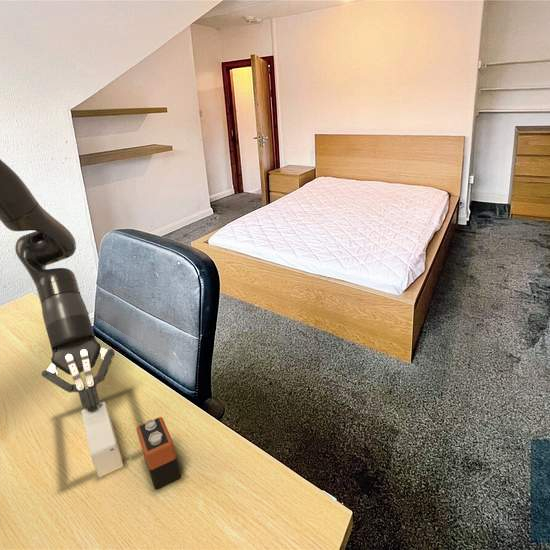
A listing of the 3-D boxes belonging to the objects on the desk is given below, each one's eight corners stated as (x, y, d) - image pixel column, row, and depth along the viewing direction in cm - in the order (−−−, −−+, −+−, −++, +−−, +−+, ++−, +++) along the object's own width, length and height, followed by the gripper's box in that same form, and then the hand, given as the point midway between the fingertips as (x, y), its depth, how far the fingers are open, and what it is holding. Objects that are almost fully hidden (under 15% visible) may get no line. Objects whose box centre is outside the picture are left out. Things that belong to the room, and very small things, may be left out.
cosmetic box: (80, 409, 74) (89, 454, 65) (104, 400, 76) (117, 442, 67) (89, 434, 77) (99, 481, 67) (112, 424, 79) (125, 468, 69)
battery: (156, 495, 65) (143, 450, 60) (146, 464, 70) (134, 421, 66) (183, 482, 66) (172, 438, 62) (171, 453, 72) (160, 410, 68)
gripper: (23, 327, 72) (48, 423, 67) (102, 304, 77) (130, 392, 73) (33, 337, 78) (56, 426, 74) (105, 316, 84) (130, 397, 79)
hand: (92, 409), depth 73 cm, fingers closed
